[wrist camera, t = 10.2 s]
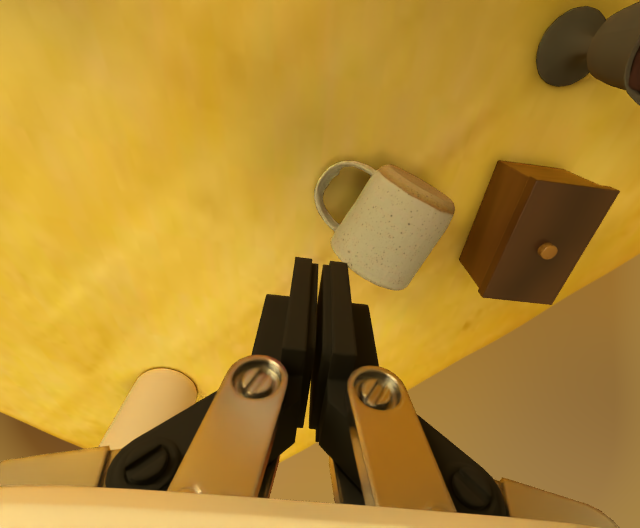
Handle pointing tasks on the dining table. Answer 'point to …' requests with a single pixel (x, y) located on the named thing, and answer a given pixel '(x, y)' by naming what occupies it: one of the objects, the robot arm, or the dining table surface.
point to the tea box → (532, 231)
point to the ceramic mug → (387, 224)
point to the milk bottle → (150, 405)
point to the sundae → (593, 49)
